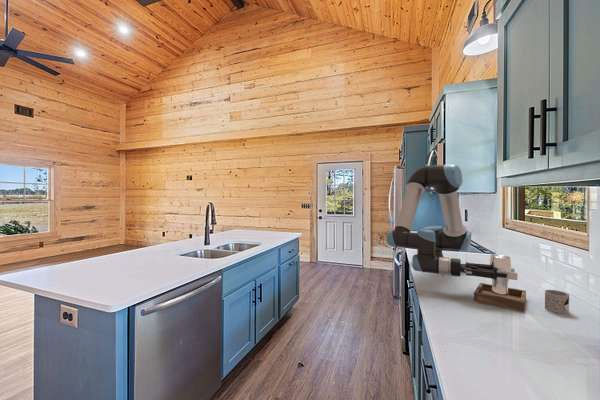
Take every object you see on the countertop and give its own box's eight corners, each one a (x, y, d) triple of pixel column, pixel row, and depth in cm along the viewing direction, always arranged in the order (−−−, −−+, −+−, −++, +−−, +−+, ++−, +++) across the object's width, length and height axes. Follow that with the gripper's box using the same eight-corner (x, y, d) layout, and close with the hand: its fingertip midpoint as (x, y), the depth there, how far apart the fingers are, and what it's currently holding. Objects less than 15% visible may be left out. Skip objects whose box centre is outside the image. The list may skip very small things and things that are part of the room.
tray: (480, 290, 126) (480, 282, 126) (525, 299, 115) (526, 290, 115) (473, 301, 114) (473, 292, 114) (524, 311, 103) (524, 302, 103)
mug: (570, 316, 100) (570, 297, 100) (545, 311, 104) (545, 293, 104) (566, 306, 108) (566, 289, 108) (543, 302, 112) (543, 286, 112)
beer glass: (514, 296, 111) (515, 258, 111) (497, 296, 111) (497, 258, 111) (502, 290, 118) (503, 254, 117) (485, 290, 118) (486, 254, 118)
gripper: (451, 269, 132) (512, 277, 120) (449, 281, 115) (519, 290, 103) (451, 253, 132) (512, 259, 120) (449, 263, 115) (519, 270, 103)
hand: (515, 274), depth 112 cm, fingers closed on beer glass, 7 cm apart
